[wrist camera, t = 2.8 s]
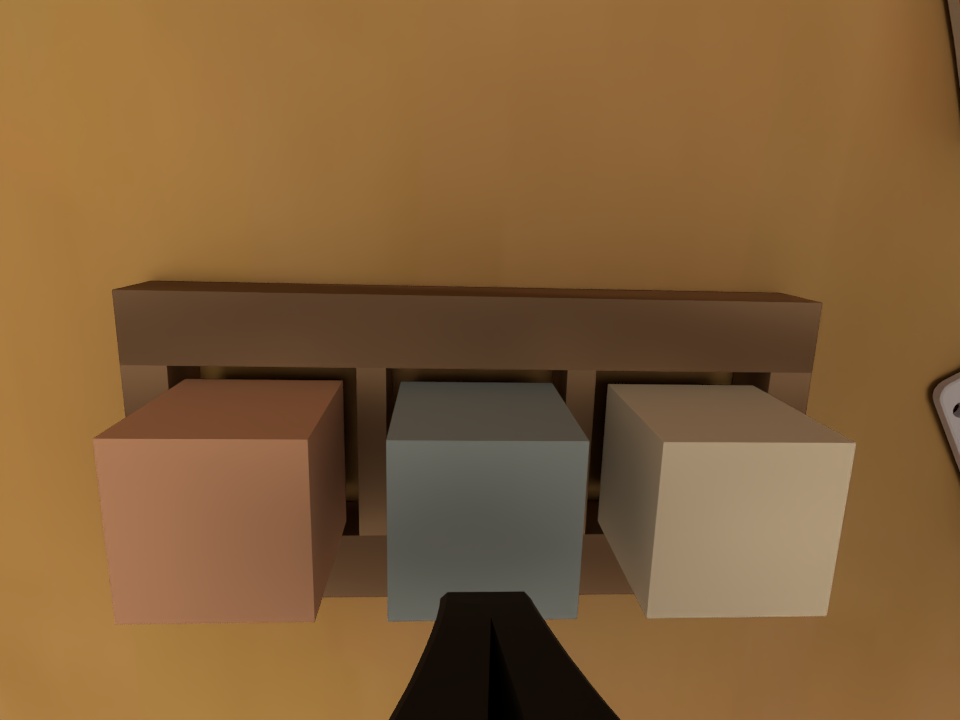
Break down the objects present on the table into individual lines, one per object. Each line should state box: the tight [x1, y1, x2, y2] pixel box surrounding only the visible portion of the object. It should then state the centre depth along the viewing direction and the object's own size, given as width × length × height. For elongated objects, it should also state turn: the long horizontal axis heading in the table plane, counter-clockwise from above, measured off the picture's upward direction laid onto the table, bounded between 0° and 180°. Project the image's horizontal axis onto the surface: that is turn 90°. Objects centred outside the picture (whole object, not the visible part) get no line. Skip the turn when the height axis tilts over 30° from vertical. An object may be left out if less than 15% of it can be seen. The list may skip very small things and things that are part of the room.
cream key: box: [598, 384, 856, 618], centre depth 16 cm, size 4×4×5 cm
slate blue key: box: [386, 382, 589, 621], centre depth 16 cm, size 4×4×5 cm
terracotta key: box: [93, 379, 346, 625], centre depth 15 cm, size 4×4×5 cm
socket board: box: [112, 281, 822, 597], centre depth 19 cm, size 9×19×2 cm, turn 88°
